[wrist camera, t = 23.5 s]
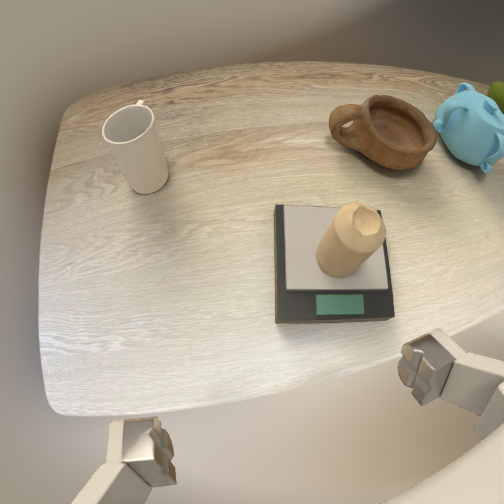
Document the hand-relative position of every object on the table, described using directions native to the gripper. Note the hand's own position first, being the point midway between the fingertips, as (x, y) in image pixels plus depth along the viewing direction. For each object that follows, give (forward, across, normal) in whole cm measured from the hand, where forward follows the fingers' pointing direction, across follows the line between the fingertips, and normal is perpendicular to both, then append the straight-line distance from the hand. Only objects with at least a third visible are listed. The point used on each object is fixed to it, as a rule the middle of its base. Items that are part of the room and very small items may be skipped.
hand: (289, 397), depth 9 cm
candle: (+25, -14, +10) cm, 31 cm away
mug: (+43, +7, -2) cm, 44 cm away
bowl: (+40, -29, 0) cm, 49 cm away
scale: (+28, -14, +12) cm, 33 cm away
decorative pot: (+39, -53, 0) cm, 66 cm away
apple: (+47, -79, -8) cm, 92 cm away
